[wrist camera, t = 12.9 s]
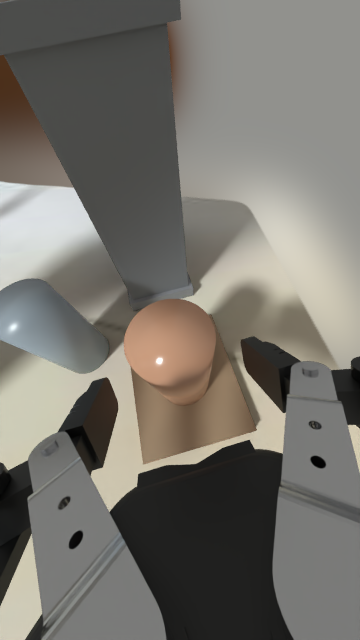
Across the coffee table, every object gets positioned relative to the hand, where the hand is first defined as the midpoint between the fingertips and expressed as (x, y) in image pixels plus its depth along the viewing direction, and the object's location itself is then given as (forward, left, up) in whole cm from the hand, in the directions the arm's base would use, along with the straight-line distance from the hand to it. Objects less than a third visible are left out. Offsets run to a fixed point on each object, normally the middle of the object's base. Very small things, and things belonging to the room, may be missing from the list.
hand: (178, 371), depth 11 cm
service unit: (0, +18, -9) cm, 21 cm away
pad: (0, +1, -9) cm, 9 cm away
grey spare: (-10, +7, -9) cm, 16 cm away
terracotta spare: (0, +1, -8) cm, 8 cm away
